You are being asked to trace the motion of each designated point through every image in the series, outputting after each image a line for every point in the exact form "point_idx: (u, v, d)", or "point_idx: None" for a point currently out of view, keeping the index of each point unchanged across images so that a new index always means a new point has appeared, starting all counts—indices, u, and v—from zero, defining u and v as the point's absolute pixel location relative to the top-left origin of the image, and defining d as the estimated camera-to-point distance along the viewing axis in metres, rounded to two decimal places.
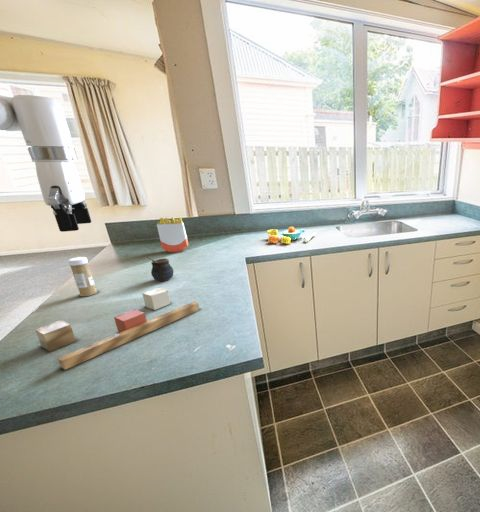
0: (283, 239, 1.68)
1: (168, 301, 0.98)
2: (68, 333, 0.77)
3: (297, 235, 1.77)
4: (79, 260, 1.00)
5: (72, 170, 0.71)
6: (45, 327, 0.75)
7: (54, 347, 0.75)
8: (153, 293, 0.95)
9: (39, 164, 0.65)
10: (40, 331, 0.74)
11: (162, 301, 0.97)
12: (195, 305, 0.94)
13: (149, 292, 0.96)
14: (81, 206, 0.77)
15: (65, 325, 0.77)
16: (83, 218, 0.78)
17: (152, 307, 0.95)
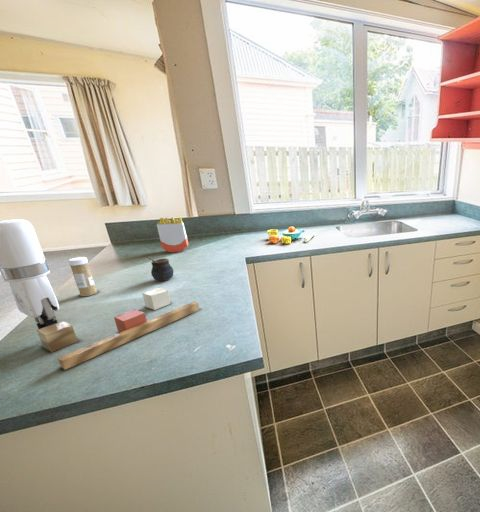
0: (284, 239, 1.68)
1: (168, 301, 0.98)
2: (69, 334, 0.77)
3: (297, 235, 1.77)
4: (79, 260, 1.00)
5: None
6: (47, 328, 0.75)
7: (56, 348, 0.75)
8: (153, 293, 0.95)
9: (27, 283, 0.71)
10: (42, 332, 0.74)
11: (162, 301, 0.97)
12: (195, 305, 0.94)
13: (149, 292, 0.96)
14: None
15: (67, 326, 0.76)
16: None
17: (152, 307, 0.95)
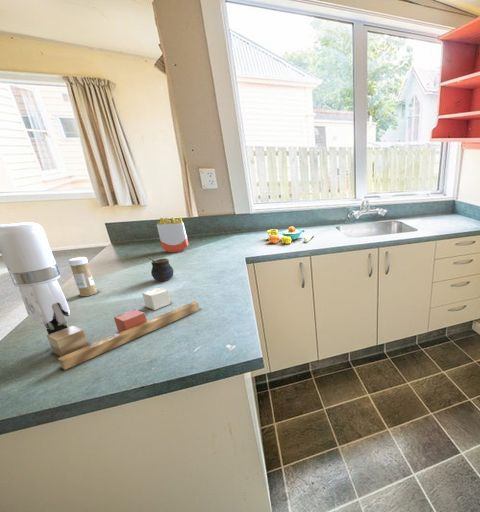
0: (284, 239, 1.68)
1: (168, 301, 0.98)
2: (81, 339, 0.74)
3: (297, 235, 1.77)
4: (79, 260, 1.00)
5: None
6: (57, 333, 0.73)
7: (67, 353, 0.72)
8: (153, 293, 0.95)
9: (38, 288, 0.69)
10: (52, 337, 0.71)
11: (162, 301, 0.97)
12: (195, 305, 0.94)
13: (149, 292, 0.96)
14: None
15: (78, 330, 0.74)
16: None
17: (152, 307, 0.95)
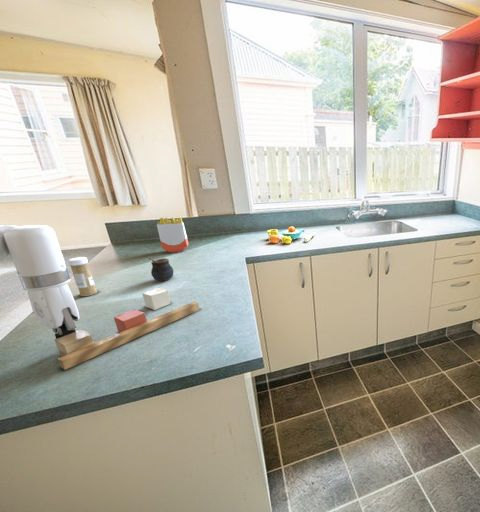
0: (284, 239, 1.69)
1: (168, 301, 0.98)
2: (89, 343, 0.73)
3: (297, 235, 1.78)
4: (79, 260, 1.00)
5: None
6: (65, 337, 0.71)
7: None
8: (153, 293, 0.95)
9: (48, 292, 0.67)
10: (60, 342, 0.70)
11: (162, 301, 0.97)
12: (195, 305, 0.94)
13: (149, 292, 0.96)
14: None
15: (86, 335, 0.72)
16: None
17: (152, 307, 0.95)
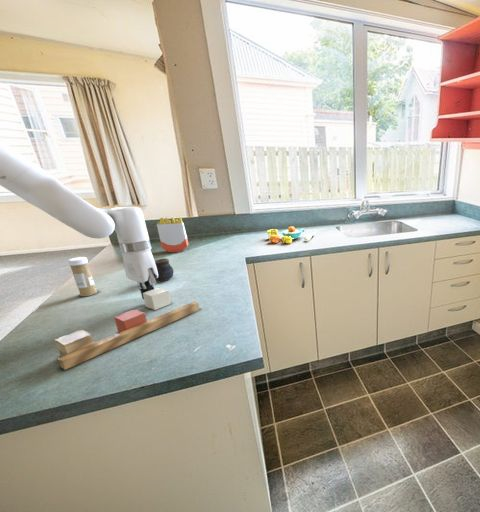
0: (285, 239, 1.69)
1: (168, 301, 0.98)
2: (89, 343, 0.73)
3: (298, 234, 1.78)
4: (79, 260, 1.00)
5: None
6: (65, 337, 0.71)
7: None
8: (153, 293, 0.95)
9: (139, 255, 0.91)
10: (60, 342, 0.70)
11: (162, 301, 0.96)
12: (195, 305, 0.94)
13: (149, 292, 0.96)
14: None
15: (86, 335, 0.72)
16: None
17: (152, 307, 0.95)
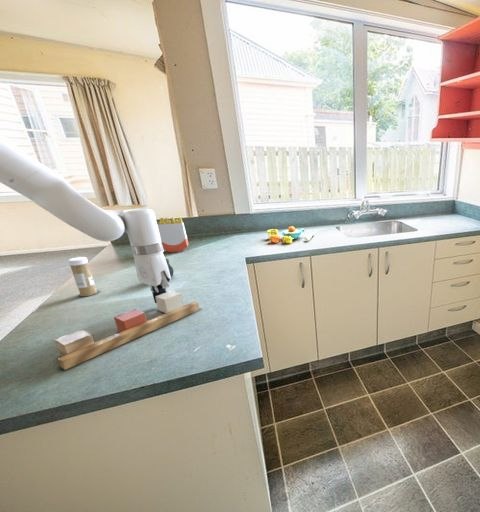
0: (285, 239, 1.69)
1: (181, 304, 0.96)
2: (89, 343, 0.73)
3: (298, 234, 1.78)
4: (79, 260, 1.00)
5: None
6: (65, 337, 0.71)
7: None
8: (166, 296, 0.93)
9: (152, 258, 0.89)
10: (60, 342, 0.70)
11: (175, 304, 0.94)
12: (195, 305, 0.94)
13: (162, 295, 0.94)
14: None
15: (86, 335, 0.72)
16: None
17: (165, 311, 0.93)
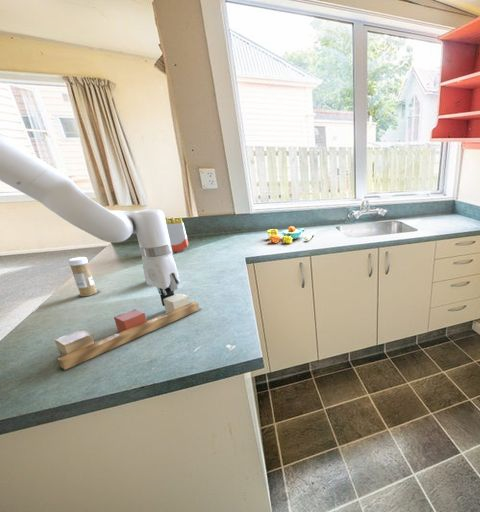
0: (285, 238, 1.69)
1: None
2: (89, 343, 0.73)
3: (298, 234, 1.78)
4: (79, 260, 1.00)
5: None
6: (65, 337, 0.71)
7: None
8: (175, 299, 0.91)
9: (161, 260, 0.88)
10: (60, 342, 0.70)
11: None
12: (195, 305, 0.94)
13: (170, 298, 0.92)
14: (167, 289, 0.95)
15: (86, 335, 0.72)
16: None
17: None
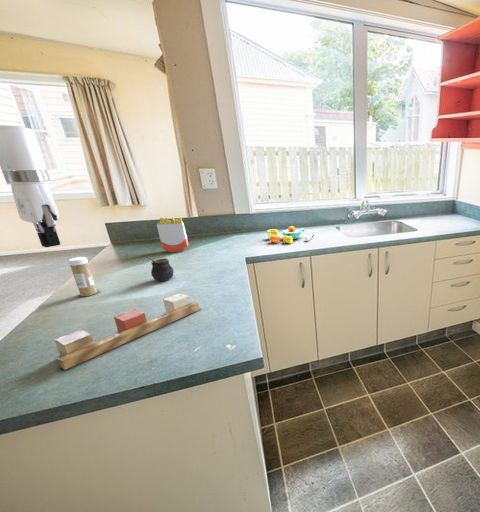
0: (285, 238, 1.69)
1: None
2: (89, 343, 0.73)
3: (298, 234, 1.79)
4: (79, 260, 1.00)
5: None
6: (65, 337, 0.71)
7: None
8: (175, 299, 0.92)
9: (29, 186, 0.74)
10: (60, 342, 0.70)
11: None
12: (195, 305, 0.94)
13: (170, 298, 0.92)
14: None
15: (86, 335, 0.72)
16: None
17: None
